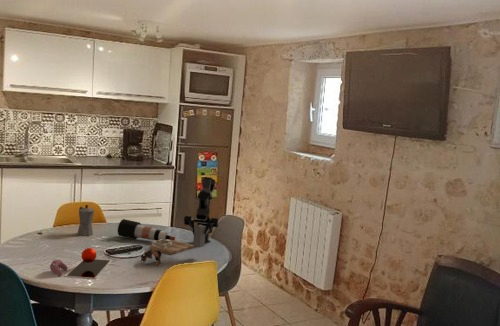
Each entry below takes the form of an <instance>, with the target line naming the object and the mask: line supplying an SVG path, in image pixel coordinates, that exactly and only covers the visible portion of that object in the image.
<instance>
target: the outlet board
mask: <svg viewBox="0 0 500 326" xmlns="http://www.w3.org/2000/svg"><path fill="white" fill-rule="evenodd" d="M194 248H195V246H193V244H191V243H187V242H183V241H179V240H176V239H175V240H168V239H167V240H163V239H161V240H152V241H151V245H149V250H154V251H157V250H160V251H161V253H163V254H167V255H171V256H172V255H176V254H178V253H182V252H185V251H188V250H191V249H194Z"/></svg>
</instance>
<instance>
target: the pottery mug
mask: <svg viewBox="0 0 500 326" xmlns="http://www.w3.org/2000/svg"><path fill="white" fill-rule="evenodd" d="M153 256H154V259H155V261H156V262H155V264H156V267H159V266H160V265H161V264H162V262H161V257H162V252H161V251H160V250H157V251H156V250H153V249H149V250H148V251H146V252H144V253H143V254H141V255H140V261H141V262H143V263H145V262H147V259H151V260H152V259H153Z"/></svg>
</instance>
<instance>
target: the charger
mask: <svg viewBox="0 0 500 326" xmlns="http://www.w3.org/2000/svg"><path fill="white" fill-rule="evenodd" d="M205 231H206V226H203V225H194V235H193V239H192V240H193V241H192V245H193V246H194V247H197V248H202V247H204V246H205V244H206V243H205Z"/></svg>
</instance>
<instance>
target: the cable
mask: <svg viewBox="0 0 500 326" xmlns="http://www.w3.org/2000/svg"><path fill="white" fill-rule="evenodd" d="M117 235H118V236H120V237H124V238H129V239H132V240H137V239H138V238H141V239H145V240H151V241H157V240H161V239H163V240H167V241H170V240H175V241H176V236H173V235H172V236H171V235H169V232H168V231H164V230H161V229H157V228H153V227H150V226H146V225H142V224H141V222H139V221H134V220H130V219H125V218H122V219H121V220H120V222H119V224H118V226H117Z"/></svg>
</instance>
